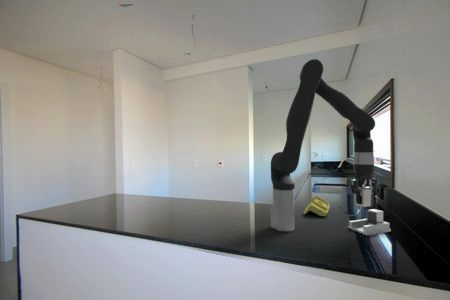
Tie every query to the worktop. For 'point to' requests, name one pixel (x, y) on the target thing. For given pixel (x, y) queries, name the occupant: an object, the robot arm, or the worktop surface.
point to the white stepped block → (371, 224)
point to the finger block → (365, 198)
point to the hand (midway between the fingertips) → (363, 203)
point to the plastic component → (318, 206)
